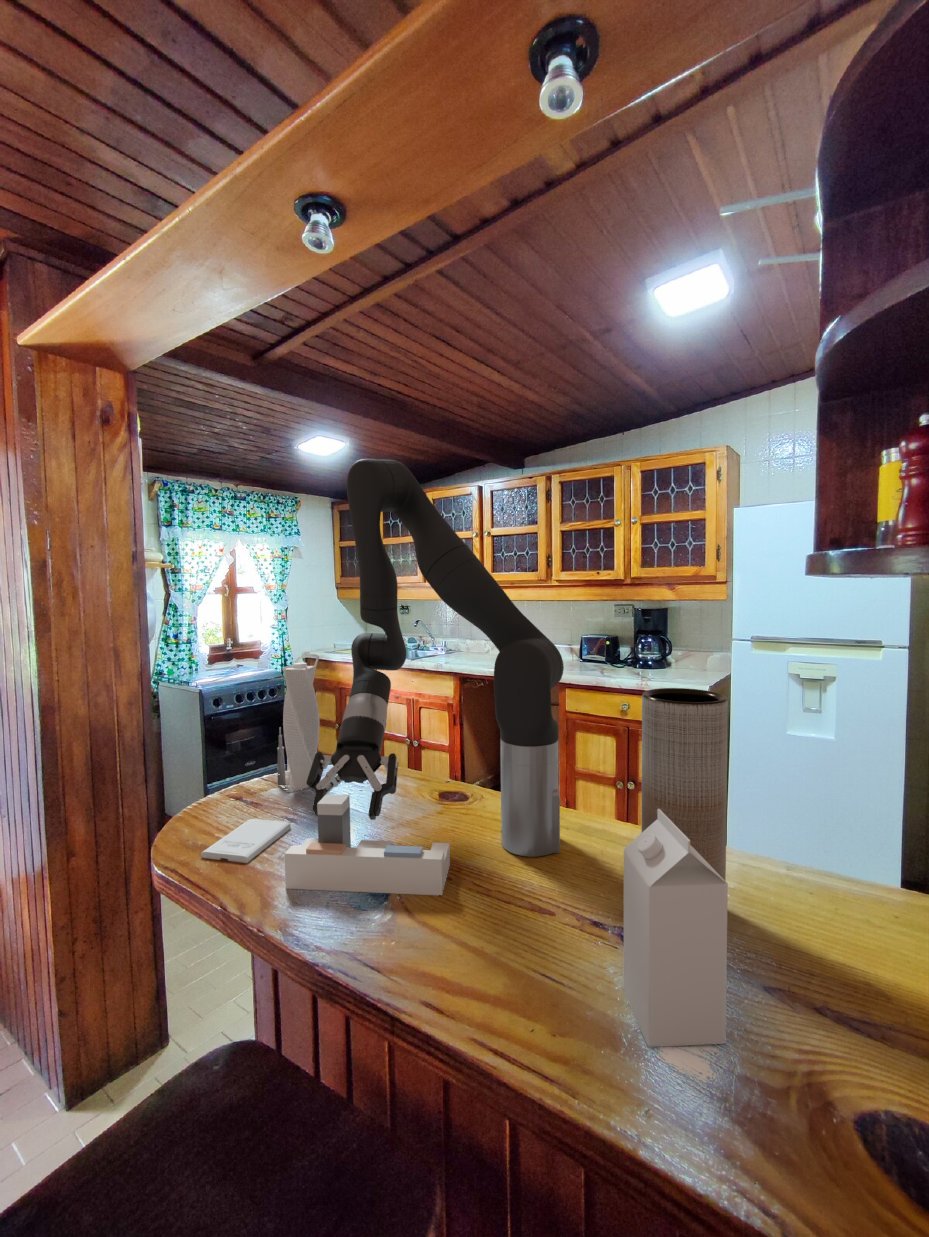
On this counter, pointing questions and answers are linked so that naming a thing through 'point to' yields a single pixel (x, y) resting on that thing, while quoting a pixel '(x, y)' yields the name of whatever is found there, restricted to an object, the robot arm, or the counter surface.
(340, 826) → the grey tall block
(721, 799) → the vase
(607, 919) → the counter surface
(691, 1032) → the milk carton
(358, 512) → the robot arm
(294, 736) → the skyscraper
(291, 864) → the socket strip
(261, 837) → the external hard drive
